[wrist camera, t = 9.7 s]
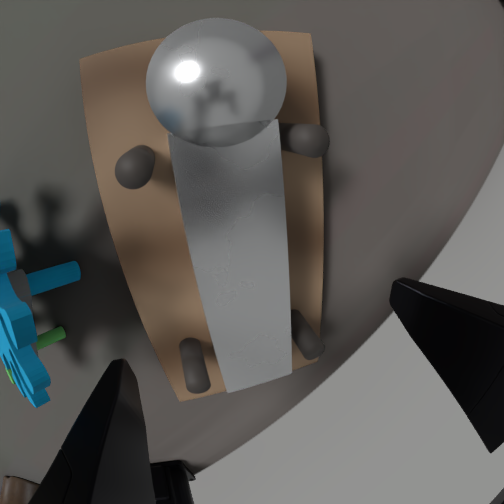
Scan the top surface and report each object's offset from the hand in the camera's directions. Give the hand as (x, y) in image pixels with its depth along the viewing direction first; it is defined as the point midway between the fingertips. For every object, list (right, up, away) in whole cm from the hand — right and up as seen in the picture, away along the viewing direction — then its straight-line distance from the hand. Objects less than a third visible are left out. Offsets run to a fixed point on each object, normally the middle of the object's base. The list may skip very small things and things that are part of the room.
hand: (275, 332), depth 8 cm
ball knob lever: (-2, +4, +4) cm, 6 cm away
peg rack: (-2, +3, +6) cm, 7 cm away
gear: (-13, +2, +4) cm, 14 cm away
